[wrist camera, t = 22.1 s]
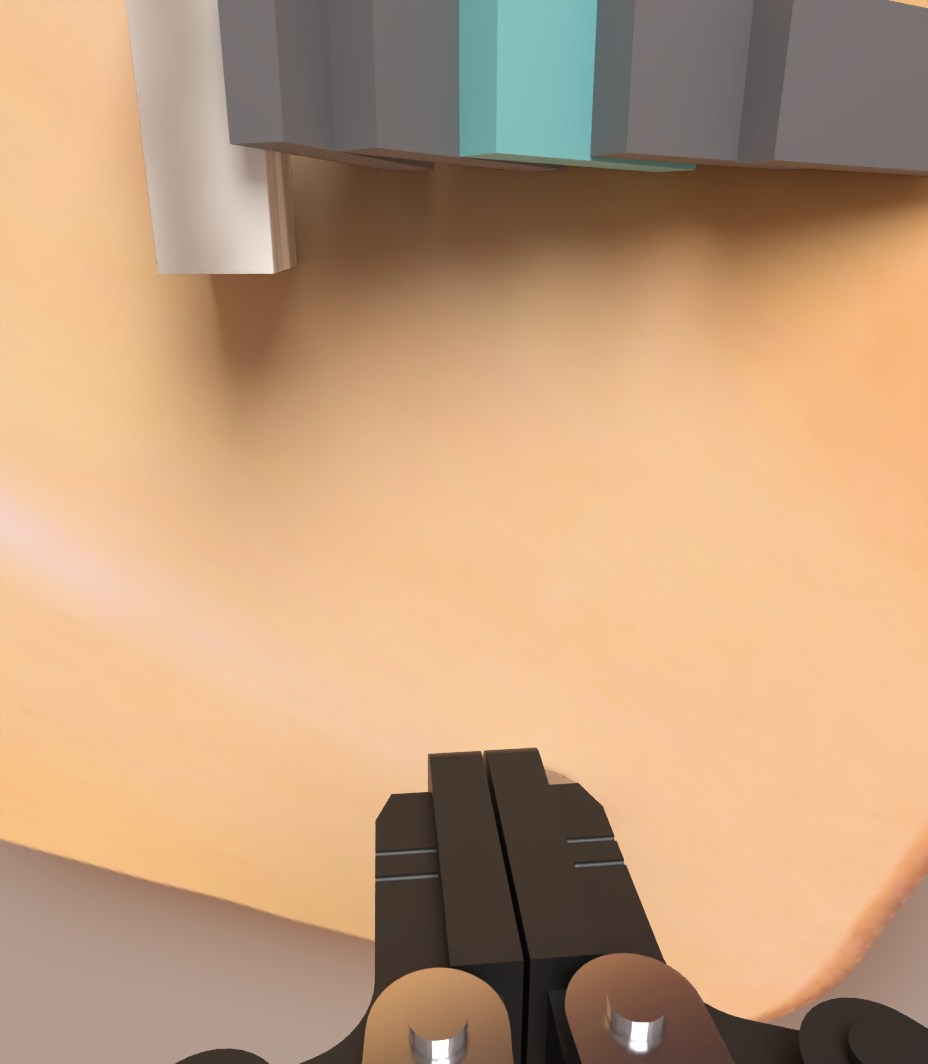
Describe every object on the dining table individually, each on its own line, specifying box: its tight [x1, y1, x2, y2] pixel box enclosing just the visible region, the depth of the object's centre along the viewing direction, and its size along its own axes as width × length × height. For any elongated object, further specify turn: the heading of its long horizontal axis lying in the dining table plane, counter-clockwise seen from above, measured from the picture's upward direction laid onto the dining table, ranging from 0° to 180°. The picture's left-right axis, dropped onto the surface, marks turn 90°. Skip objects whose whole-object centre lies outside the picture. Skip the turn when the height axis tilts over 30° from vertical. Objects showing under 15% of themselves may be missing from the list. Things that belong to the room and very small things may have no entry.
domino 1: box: [217, 0, 434, 171], centre depth 30 cm, size 2×6×12 cm, turn 1°
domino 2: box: [328, 0, 566, 172], centre depth 32 cm, size 2×6×12 cm
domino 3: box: [459, 0, 696, 172], centre depth 33 cm, size 2×6×12 cm
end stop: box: [126, 0, 297, 274], centre depth 31 cm, size 4×14×9 cm, turn 0°
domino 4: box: [590, 0, 804, 170], centre depth 34 cm, size 2×6×12 cm
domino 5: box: [736, 0, 928, 176], centre depth 35 cm, size 2×6×12 cm
